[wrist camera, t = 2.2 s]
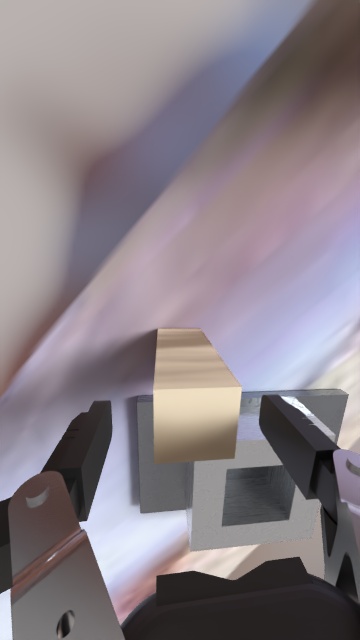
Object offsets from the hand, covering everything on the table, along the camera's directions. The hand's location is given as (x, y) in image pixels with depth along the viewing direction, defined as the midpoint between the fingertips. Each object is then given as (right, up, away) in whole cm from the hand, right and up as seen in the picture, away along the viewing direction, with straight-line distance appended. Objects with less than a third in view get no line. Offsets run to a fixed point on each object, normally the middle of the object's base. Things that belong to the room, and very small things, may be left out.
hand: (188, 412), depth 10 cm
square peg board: (+6, -10, +12) cm, 17 cm away
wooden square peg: (-1, +2, +9) cm, 9 cm away
